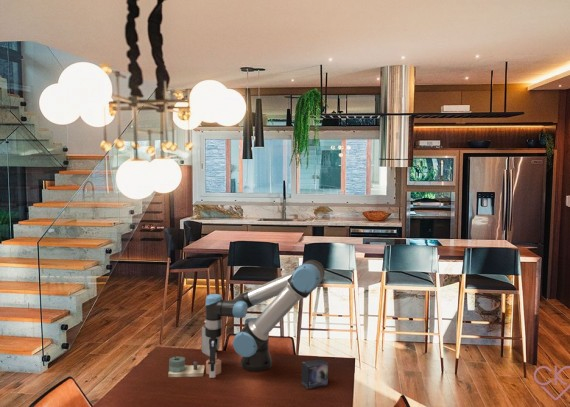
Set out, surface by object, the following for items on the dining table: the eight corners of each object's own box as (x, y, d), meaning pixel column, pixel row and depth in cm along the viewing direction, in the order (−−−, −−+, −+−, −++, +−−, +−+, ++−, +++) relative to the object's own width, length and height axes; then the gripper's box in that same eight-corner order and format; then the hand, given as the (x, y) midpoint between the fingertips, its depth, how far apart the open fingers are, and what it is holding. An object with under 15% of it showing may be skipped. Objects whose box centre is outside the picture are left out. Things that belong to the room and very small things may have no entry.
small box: (307, 390, 227) (308, 366, 227) (300, 384, 233) (300, 361, 232) (328, 385, 232) (328, 362, 232) (320, 380, 238) (321, 358, 237)
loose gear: (221, 368, 250) (221, 358, 250) (220, 374, 243) (220, 364, 243) (206, 369, 250) (206, 359, 249) (205, 375, 243) (205, 364, 242)
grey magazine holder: (205, 346, 281) (205, 311, 280) (219, 347, 281) (219, 311, 280) (198, 357, 265) (198, 320, 264) (213, 358, 265) (213, 320, 263)
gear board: (204, 368, 251) (204, 354, 251) (203, 376, 241) (203, 362, 241) (170, 368, 250) (170, 355, 249) (168, 377, 240) (168, 363, 239)
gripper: (206, 319, 257) (206, 361, 259) (203, 336, 232) (203, 382, 234) (222, 319, 258) (221, 361, 259) (220, 335, 233) (220, 382, 235)
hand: (213, 371), depth 247 cm, fingers open, 13 cm apart
